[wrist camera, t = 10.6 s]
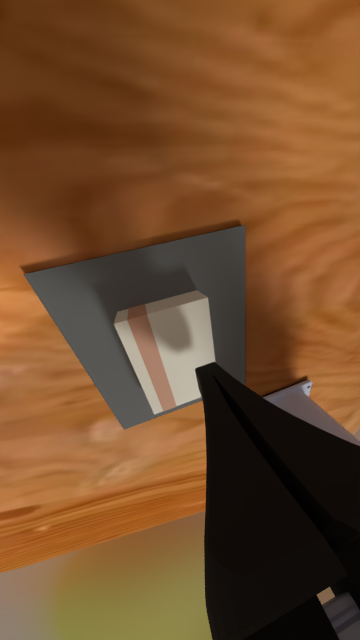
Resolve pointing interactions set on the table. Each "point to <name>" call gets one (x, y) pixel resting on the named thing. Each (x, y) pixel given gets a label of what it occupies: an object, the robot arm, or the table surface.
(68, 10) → the table surface
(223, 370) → the robot arm
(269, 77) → the table surface
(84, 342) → the mat
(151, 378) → the card deck
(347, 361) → the table surface
